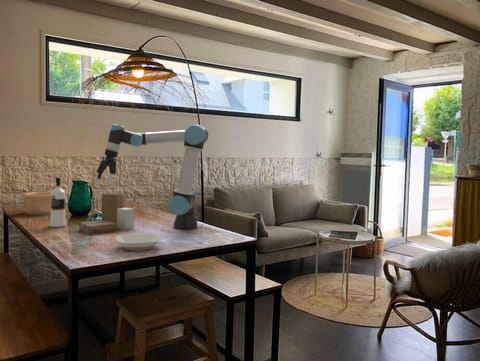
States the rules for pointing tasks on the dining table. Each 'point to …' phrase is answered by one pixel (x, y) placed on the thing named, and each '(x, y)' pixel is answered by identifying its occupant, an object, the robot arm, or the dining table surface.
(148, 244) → the bowl
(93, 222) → the plinth
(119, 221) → the white canister
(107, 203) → the block
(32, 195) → the pottery
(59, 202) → the vodka
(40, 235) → the dining table surface
